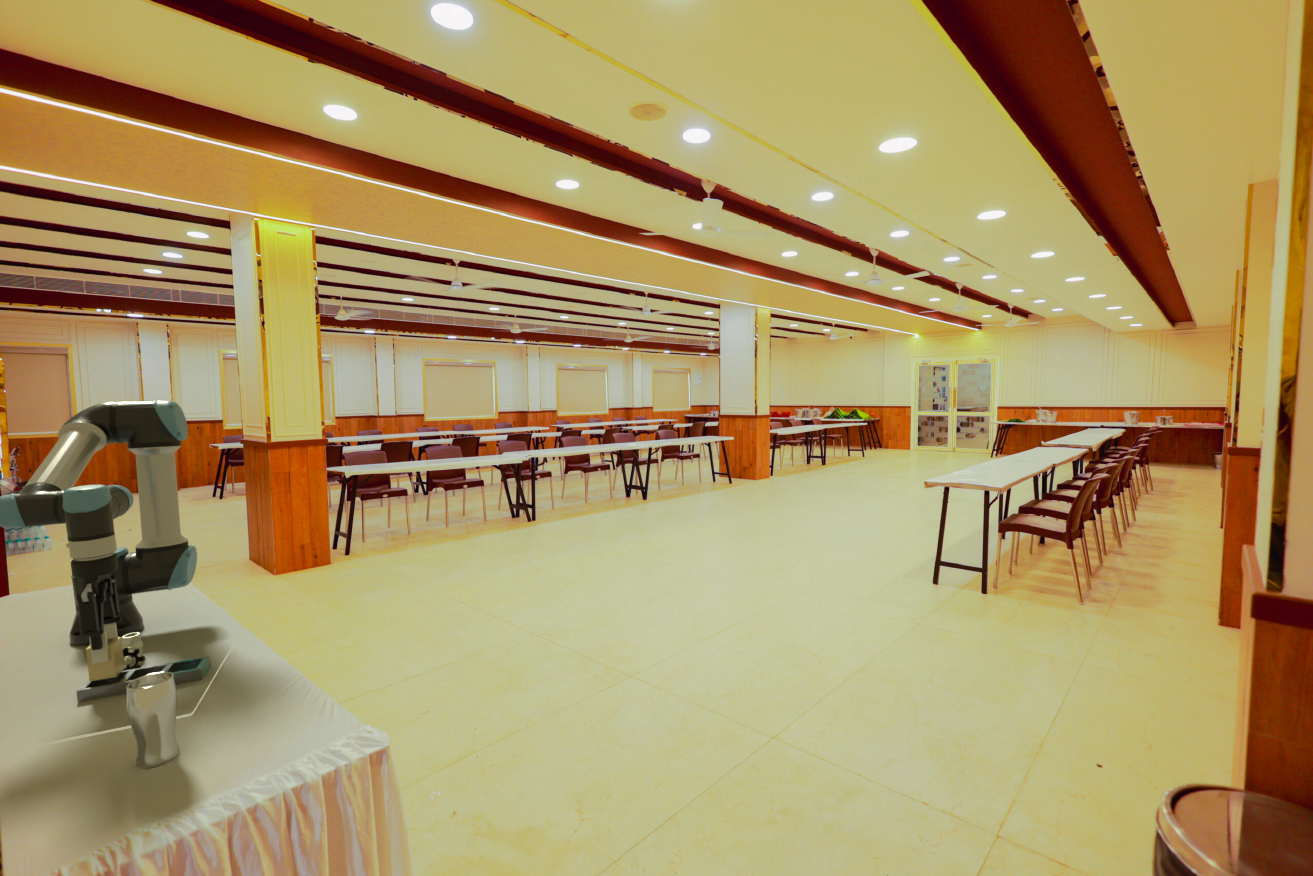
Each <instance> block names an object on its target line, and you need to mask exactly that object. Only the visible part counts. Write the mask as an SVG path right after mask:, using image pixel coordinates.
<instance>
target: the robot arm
mask: <svg viewBox="0 0 1313 876" xmlns="http://www.w3.org/2000/svg"><path fill="white" fill-rule="evenodd" d="M188 427H189V426H188V423H187V419H186V415H185V413H184V411H183V408H182V407H181V406H180V405H179V404H178V403H177V402H176V401H173V400H162V399H161V400H158V399H156V400H132V401H131V400H129V401H124V400H123V401H116V400H115V401H114V400H113V401H105V402H99V403H97V404H94V405H92V406H89V407H86V408H85V409H82V410H80V411H79V412H78V413H76V414H74V415H72V416H71V417H70V418H69V419H68V420H66V421H65V422H64V424H63V425H62V426H61V428H59V430H58V433H57V439H58V440H57V441H56V443H55V444H54V446H53V447H52V448H51V450H50V451H49V453H48V454H47V455H46V456H45V458H44V459H43V461H42V462H41V463H40V465H39V466H38V468H37V469H36V470H35V472H34V473H33V474H32V476H31V477H30V479H29V480H28V481H27V482H26V484H25V485H24V486H23V488H22V489H21V490H20V492H19V493H15V492H13V493H10V494H5V495H1V496H0V527H1V528H5V529H14V528H24V529H25V528H30V527H31V528H32V527H33V528H34V527H40V526H41V527H43V526H51V525H62V524H65V527H66V535H67V542H68V543H66V544H65V547H66V548H68V550H69V551H68V552H69V557H70V559H72V560H71V561H70V569H71V577H70V578H71V581H72V583H71V584H72V589H73V590H72V591H73V597H74V606H75V616H74V619H73V622H72V624H71V628H70V631H69V642H70V644H72V645H74V646H75V645H76V646H90V649H91V657H92V664H94V663H101V662H107V661H109V651H108V642H107V639H109V638H116V637H121V639H122V637H123V636H124V635H126V634H129V633H135V632H139V631H140V630H142V629H143V628H144V618H143V617H142V614H141V613H140V611H139V610H138V608H137V606H136V604H135V603H134V600H133V595H135V594H142V593H149V592H150V593H151V592H159V591H165V590H168V591H171V590H174V589H179V588H183V587H187V586H188V585H189V584H190V583H191V582H192V581H193V578H194V577H195V574H196V573H195V572H196V570H197V563H198V551H197V548H196V546H195V545H192V544H191V545H189V540H188V538H186V537H185V536H183V535H182V533H181V532H182V531H181V521H180V519H181V518H180V507H179V493H178V490H179V489H178V480H177V466H176V452H178V450H179V449H180V448H181V447H182V441H186V440H187V438H188V436H189V434H188V432H189V430H188V429H189V428H188ZM111 444H127V450H128V451H130V452H131V453H132V454H133V455H135V463H136V464H135V467H136V481H137V490H138V491H137V492H138V502H139V505H138V506H139V515H140V529H141V530H140V531H141V540H140V542H138V543H137V544H136V545H135V551H132V552H129V549H128V547H125V546H121V547H119V546H118V547H117V540H116V533H115V526H114V524H115V523H114V520H115V519H117V518H119V517H122V516H123V515H125V514H126V513H127V512H128V511H130V509H131V508H132V507H133V504H134V496H133V495H134V494H133V493H132V492H131V490H129V489H128V488H127V487H125V486H122V485H119V484H109V485H105V484H87V485H86V484H85V485H79V486H75V485H76V483H77V481H78V480H79V478H80V477H81V475H82V474H83V472H84V471H85V469H86V467H87V466H88V464H89V462H90V461H91V459H92V458H93V456H94V454H95V453H96V452H99V451H100V450H102V449H103V448H104V447H105V446H106V445H111Z"/></svg>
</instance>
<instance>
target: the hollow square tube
mask: <svg viewBox="0 0 1313 876" xmlns="http://www.w3.org/2000/svg"><path fill="white" fill-rule="evenodd" d="M107 642H108V651H109V661H107V662H101V663H94V664H92V657H91V649H90V645H88V646H87V647H86V648H85V653H86V654H85V655H86V661H87V662H86V663H87V671H88V677H89V678H88V679H89V680H90V681H96V680H102V679H108V678H114V677H117V676H118V675H119V674H120V673H121V671H122V670H123V669H124V668H126V665H124V657H123V648H122V645H123V644H122V638H121V637H116V638H109V639H107Z"/></svg>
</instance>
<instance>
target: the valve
mask: <svg viewBox="0 0 1313 876" xmlns="http://www.w3.org/2000/svg"><path fill="white" fill-rule="evenodd" d="M121 639H122V648H123V657H124V666H125V668H124V669H123V670H122V671H125V670H131V669H137V668H142V667H143V666H142V664H139V663H140V662H144V661H145V660H146V655H144V654H143V651H144V643H143V641H142V640H141V639H142V635H141V632H139V631H137V632H135V633H129V634H126V635H124V636H123V637H122V638H121ZM133 661H135V662H134V664H133V665H132V666H131V664H132V662H133Z"/></svg>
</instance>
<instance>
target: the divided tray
mask: <svg viewBox="0 0 1313 876" xmlns="http://www.w3.org/2000/svg"><path fill="white" fill-rule="evenodd" d="M210 667H211V657H210V656H200V657H195V658H188V659H182V660H177V661H176V660H175V661H173V662H166V663H162V664H155V665H149V666H142V667H141V668H137V669H131V670H125V671H121V673H120V674H119V675H118V676H117V677H114V678H108V679H102V680H96V681H90V680H89V678H88V679H87V680H86V681H85V682H84V683H83V684H82V685H81V686H80V687H79V688H78V689H77V690H76V692H75V693H76V699H77V703H80V702H86V701H87V702H88V701H93V700H98V699H104V698H108V697H109V698H110V697H114V696H120V695H127V688H126V686H127V685H128V684H129V683H130V682H131V681H133V680H135V679H137V678H139V677H142V676H145V675H148V674H152V673H157V672H171V673H173V676H174V681H175V686H177V685H183V684H186V683H192V682H198V681H203V679H204V677H205V676H206V674H207V672H208V671H209V670H210Z"/></svg>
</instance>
